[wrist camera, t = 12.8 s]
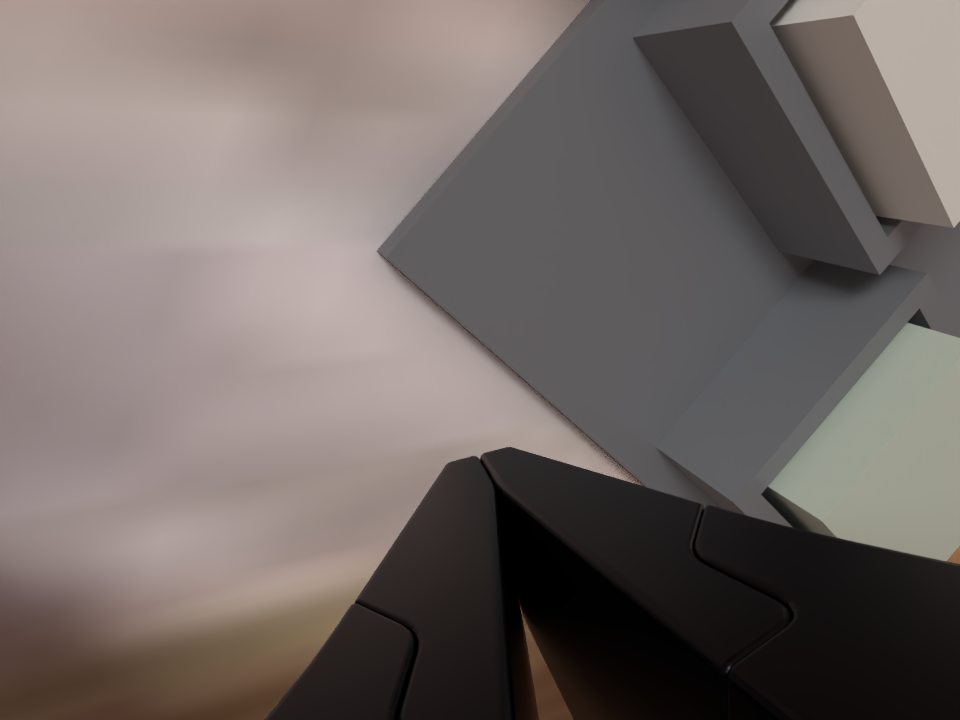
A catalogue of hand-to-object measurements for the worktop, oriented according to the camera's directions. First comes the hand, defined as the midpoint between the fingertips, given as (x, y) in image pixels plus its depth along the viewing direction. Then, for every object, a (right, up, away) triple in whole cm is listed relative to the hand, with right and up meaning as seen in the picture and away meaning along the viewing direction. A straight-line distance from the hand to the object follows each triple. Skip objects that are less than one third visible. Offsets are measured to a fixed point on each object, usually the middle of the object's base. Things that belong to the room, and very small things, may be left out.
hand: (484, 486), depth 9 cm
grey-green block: (+13, -1, +18) cm, 22 cm away
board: (+11, +6, +17) cm, 21 cm away
